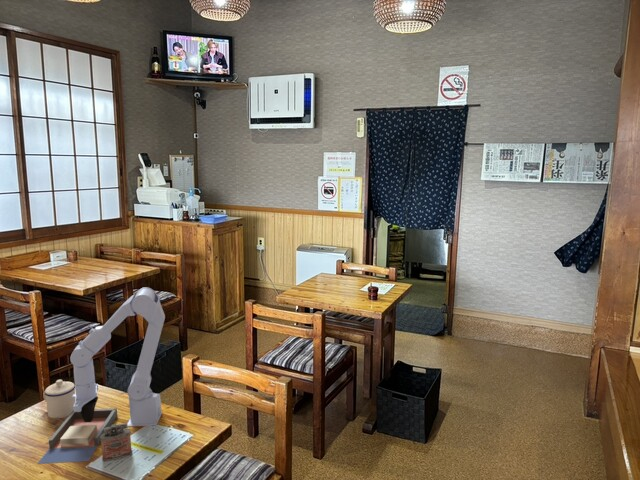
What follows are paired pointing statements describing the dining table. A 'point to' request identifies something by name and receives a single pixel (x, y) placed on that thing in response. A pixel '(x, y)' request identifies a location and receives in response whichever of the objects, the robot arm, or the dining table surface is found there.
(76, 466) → the dining table surface
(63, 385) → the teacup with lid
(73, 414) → the grey and pink tray
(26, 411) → the dining table surface
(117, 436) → the lighter
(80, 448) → the indigo mat
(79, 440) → the slab
